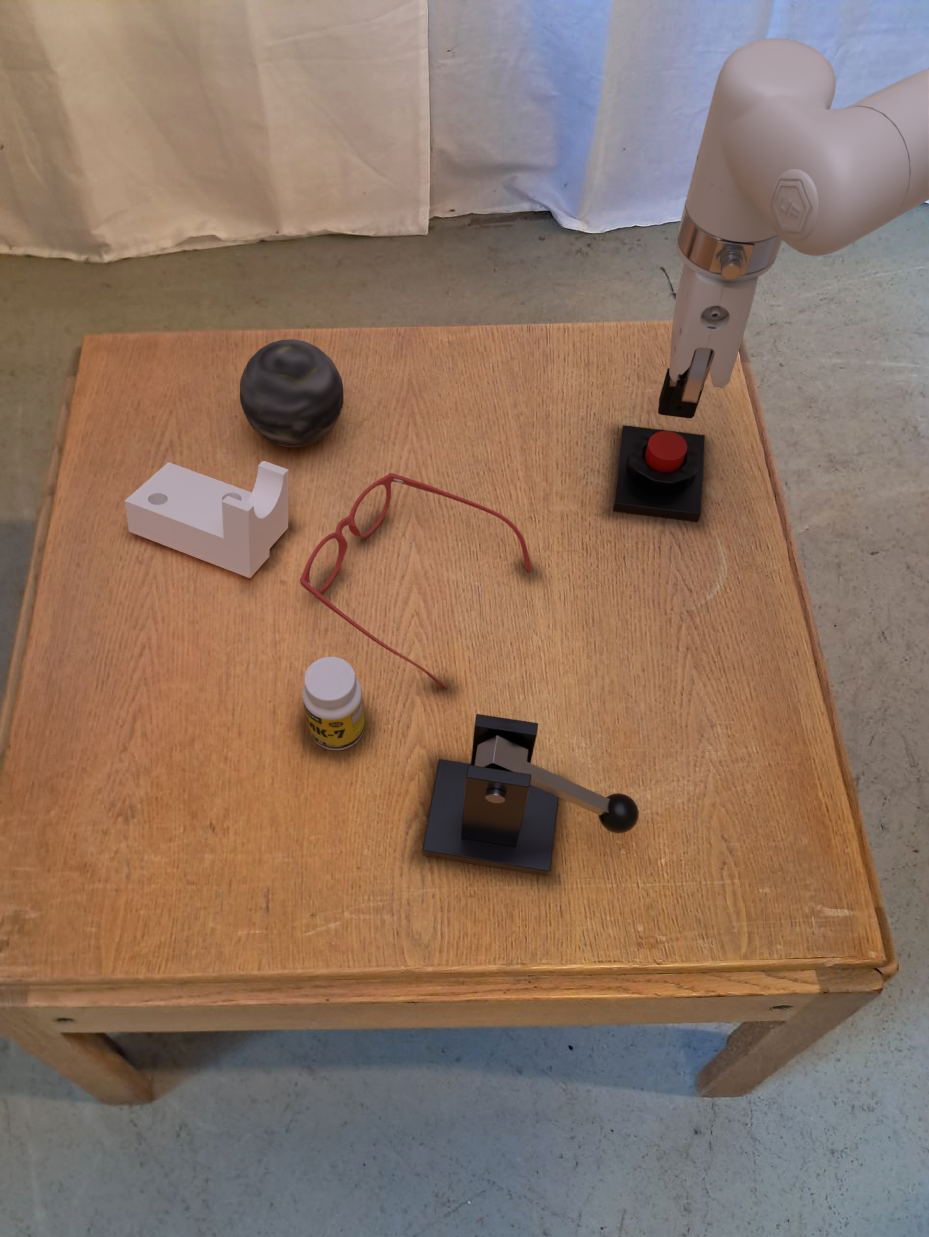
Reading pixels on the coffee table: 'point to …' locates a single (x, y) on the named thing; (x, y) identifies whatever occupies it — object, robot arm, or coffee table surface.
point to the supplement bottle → (333, 703)
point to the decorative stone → (291, 393)
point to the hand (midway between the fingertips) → (675, 409)
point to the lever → (559, 784)
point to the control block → (658, 478)
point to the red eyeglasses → (354, 530)
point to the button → (665, 451)
